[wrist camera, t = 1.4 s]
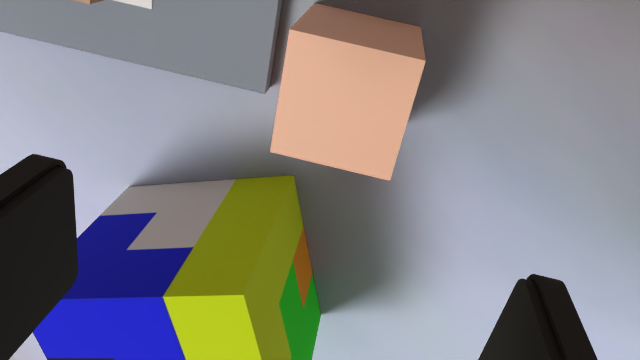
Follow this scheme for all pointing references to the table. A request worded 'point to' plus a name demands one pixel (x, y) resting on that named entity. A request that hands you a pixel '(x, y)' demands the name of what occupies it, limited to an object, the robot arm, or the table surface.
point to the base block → (88, 1)
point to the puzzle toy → (191, 277)
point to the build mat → (161, 34)
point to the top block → (347, 90)
